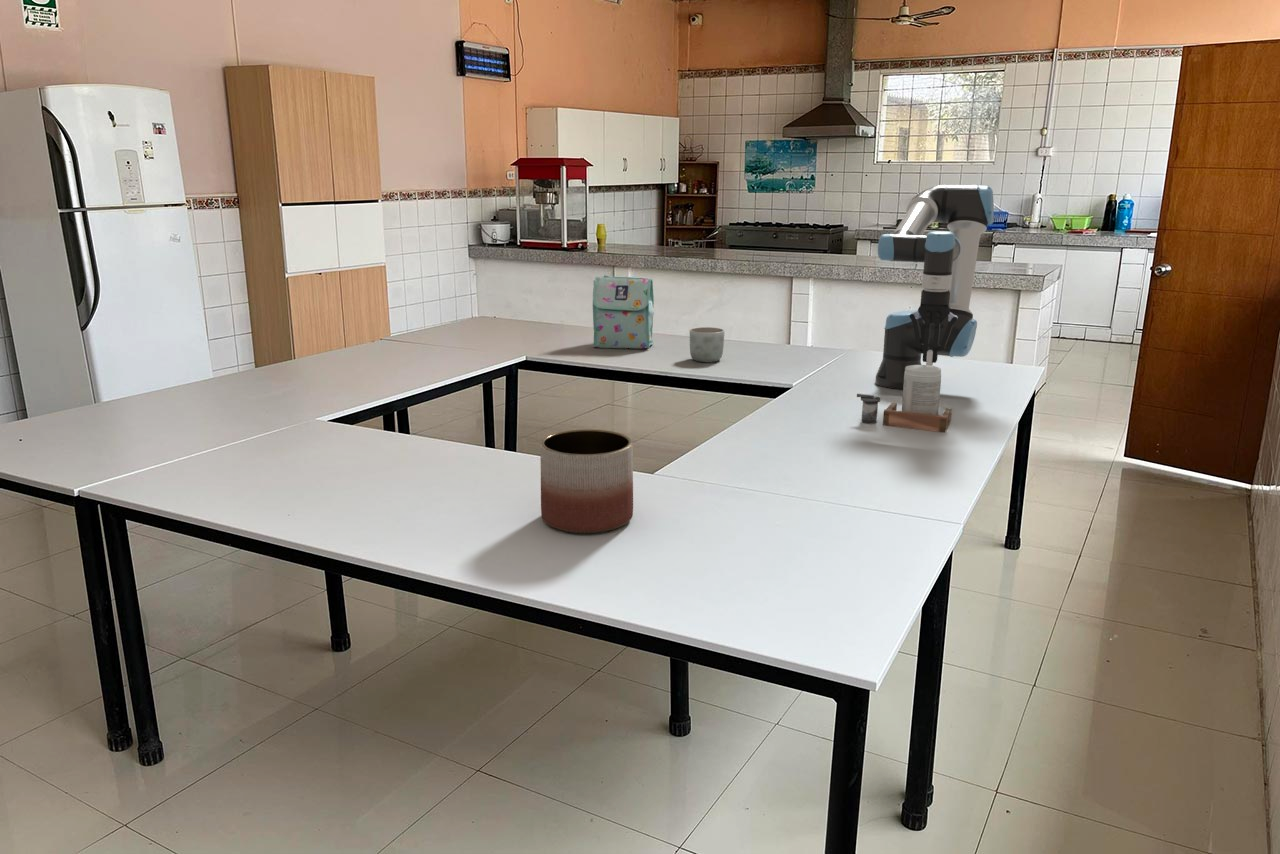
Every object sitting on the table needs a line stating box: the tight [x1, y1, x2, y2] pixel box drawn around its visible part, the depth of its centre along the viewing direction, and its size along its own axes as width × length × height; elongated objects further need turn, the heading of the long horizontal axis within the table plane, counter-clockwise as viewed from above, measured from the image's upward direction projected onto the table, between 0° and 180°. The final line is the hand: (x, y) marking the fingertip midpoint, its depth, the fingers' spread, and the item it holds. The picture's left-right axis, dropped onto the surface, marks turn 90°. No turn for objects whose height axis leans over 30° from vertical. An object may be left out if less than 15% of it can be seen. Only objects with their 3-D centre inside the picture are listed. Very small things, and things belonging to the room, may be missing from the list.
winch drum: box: [856, 393, 882, 425], centre depth 247 cm, size 5×6×7 cm
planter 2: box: [689, 326, 725, 363], centre depth 325 cm, size 12×12×11 cm
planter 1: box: [539, 428, 634, 535], centre depth 175 cm, size 18×18×16 cm
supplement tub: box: [901, 364, 942, 415], centre depth 247 cm, size 10×10×15 cm
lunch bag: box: [592, 274, 655, 350], centre depth 348 cm, size 23×16×27 cm
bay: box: [882, 402, 952, 433], centre depth 246 cm, size 12×16×4 cm
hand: (928, 373), depth 257 cm, fingers closed
